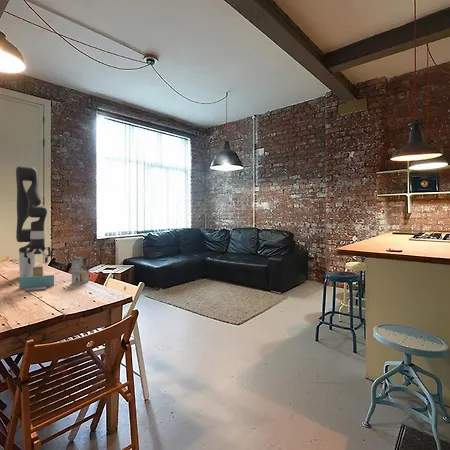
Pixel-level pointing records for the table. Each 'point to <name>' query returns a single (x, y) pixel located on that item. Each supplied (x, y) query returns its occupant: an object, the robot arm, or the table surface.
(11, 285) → the table surface
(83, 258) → the coffee box
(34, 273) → the wooden block
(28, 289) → the dark gray upright panel
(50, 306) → the table surface
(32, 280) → the teal board
